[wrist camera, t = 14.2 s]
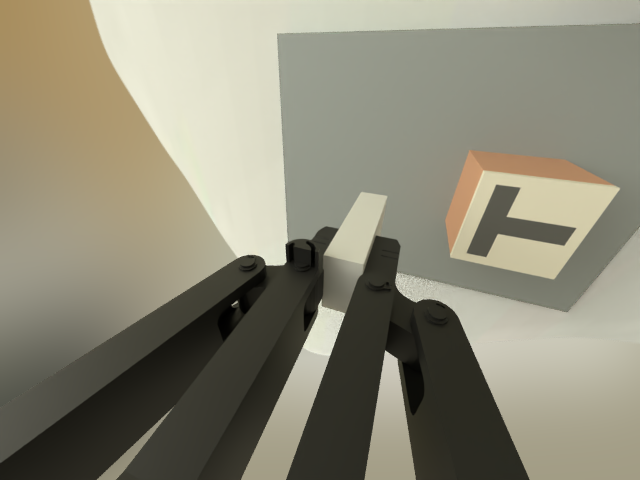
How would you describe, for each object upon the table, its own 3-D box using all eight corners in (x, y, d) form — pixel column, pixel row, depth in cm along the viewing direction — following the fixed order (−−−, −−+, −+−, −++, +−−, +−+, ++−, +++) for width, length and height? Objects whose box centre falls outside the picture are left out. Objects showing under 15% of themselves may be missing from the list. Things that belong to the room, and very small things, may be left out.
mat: (279, 34, 19) (277, 33, 19) (804, 20, 12) (814, 18, 11) (289, 244, 30) (288, 246, 30) (565, 309, 22) (567, 312, 22)
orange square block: (620, 188, 12) (565, 159, 17) (484, 172, 14) (469, 150, 19) (554, 279, 15) (523, 233, 20) (450, 257, 17) (445, 220, 22)
